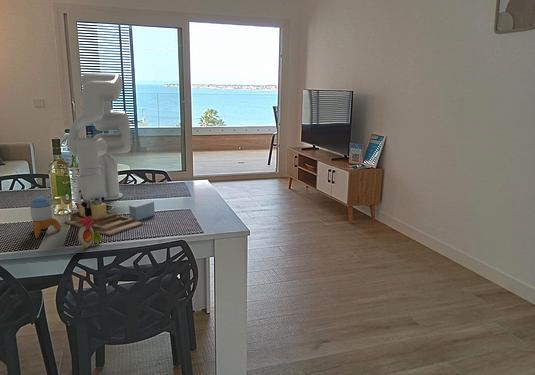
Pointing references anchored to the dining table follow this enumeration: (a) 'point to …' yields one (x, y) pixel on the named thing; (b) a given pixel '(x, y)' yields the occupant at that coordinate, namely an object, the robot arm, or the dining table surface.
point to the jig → (106, 223)
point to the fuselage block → (95, 209)
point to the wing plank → (142, 210)
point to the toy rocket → (42, 215)
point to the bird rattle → (87, 233)
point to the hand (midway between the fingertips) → (93, 214)
